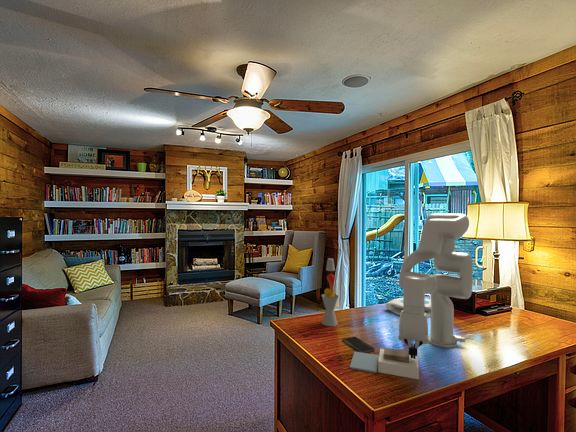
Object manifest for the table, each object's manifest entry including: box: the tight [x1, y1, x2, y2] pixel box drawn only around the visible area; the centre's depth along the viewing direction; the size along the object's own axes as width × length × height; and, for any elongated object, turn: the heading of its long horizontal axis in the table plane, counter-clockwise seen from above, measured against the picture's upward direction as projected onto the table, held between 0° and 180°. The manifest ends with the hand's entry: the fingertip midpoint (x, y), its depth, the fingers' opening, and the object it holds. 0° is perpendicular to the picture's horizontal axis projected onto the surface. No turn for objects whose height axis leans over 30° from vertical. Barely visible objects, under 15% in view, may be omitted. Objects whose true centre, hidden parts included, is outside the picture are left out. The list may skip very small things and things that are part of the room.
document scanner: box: [385, 297, 431, 318], centre depth 188 cm, size 21×28×6 cm
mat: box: [349, 351, 379, 374], centre depth 122 cm, size 10×14×1 cm
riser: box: [377, 348, 420, 380], centre depth 118 cm, size 14×12×4 cm
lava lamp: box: [321, 257, 339, 327], centre depth 165 cm, size 9×9×35 cm
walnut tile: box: [383, 347, 409, 363], centre depth 118 cm, size 9×6×2 cm, turn 71°
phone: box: [342, 336, 375, 354], centre depth 138 cm, size 8×1×15 cm
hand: (412, 357), depth 116 cm, fingers closed
